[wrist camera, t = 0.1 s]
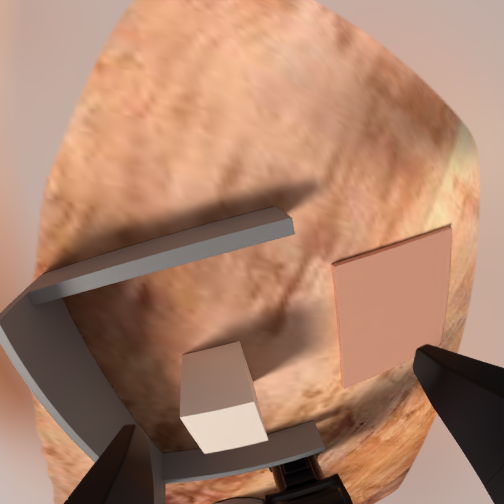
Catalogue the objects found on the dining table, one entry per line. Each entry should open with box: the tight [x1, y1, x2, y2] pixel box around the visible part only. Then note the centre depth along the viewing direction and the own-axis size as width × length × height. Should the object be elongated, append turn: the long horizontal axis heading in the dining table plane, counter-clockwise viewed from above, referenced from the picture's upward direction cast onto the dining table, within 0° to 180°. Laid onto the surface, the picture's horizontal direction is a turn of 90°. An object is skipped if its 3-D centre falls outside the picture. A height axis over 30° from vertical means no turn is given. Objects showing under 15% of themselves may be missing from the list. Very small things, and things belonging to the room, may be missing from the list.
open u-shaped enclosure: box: [0, 206, 325, 504], centre depth 20 cm, size 25×19×8 cm
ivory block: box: [180, 341, 268, 454], centre depth 21 cm, size 5×5×7 cm
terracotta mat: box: [331, 227, 451, 389], centre depth 25 cm, size 14×13×1 cm
